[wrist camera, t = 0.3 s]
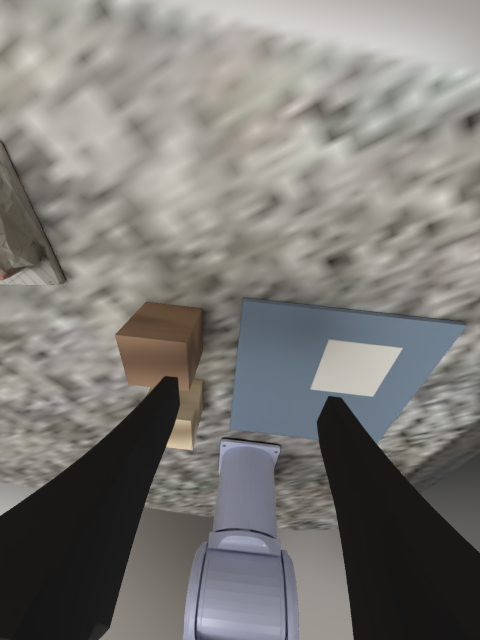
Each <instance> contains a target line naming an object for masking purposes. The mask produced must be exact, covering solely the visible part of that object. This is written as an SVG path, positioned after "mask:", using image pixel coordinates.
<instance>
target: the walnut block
mask: <svg viewBox="0 0 480 640" xmlns="http://www.w3.org/2000/svg"><path fill="white" fill-rule="evenodd" d="M115 337H116V340H117V344H118V348H119V351H120V355H121V359H122V363H123V366H124V370H125V374H126V377H127V381H128V384H129V385H138V386H147V387H155V386H156V385H157V384H158V383H159V382H160V381H161V379H162V378H163V377H164V376H171V377H178V384H179V390H181V391H190V388H191V385H192V382H193V379H194V376H195V373H196V370H197V367H198V364H199V361H200V358H201V355H202V308H194V307H185V306H176V305H167V304H158V303H149V302H146V303H145V304H144V305H143V306H142V307H141V308H140V309H139V310H138V311H137V312H136V313H135V314H134V315H133V316H132V317H131V318H130V319H129V321H128V322H127V323H126V324H125V325H124V326H123V327H122V328H121V329H120V330H119V331H118V332H117V333H116V334H115Z"/></svg>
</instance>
